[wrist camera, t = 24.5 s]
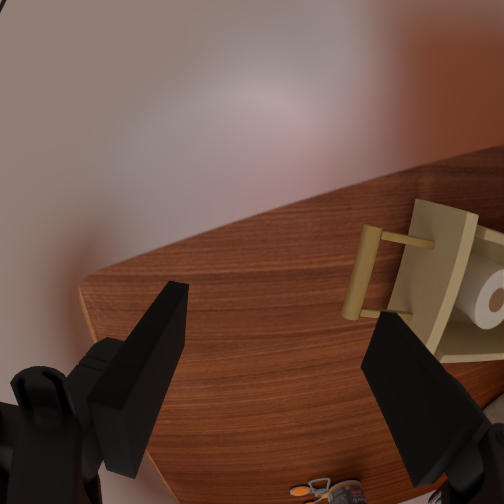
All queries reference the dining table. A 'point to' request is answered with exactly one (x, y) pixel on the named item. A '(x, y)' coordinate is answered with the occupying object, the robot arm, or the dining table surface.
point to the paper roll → (482, 292)
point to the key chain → (304, 490)
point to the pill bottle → (347, 493)
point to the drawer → (432, 281)
